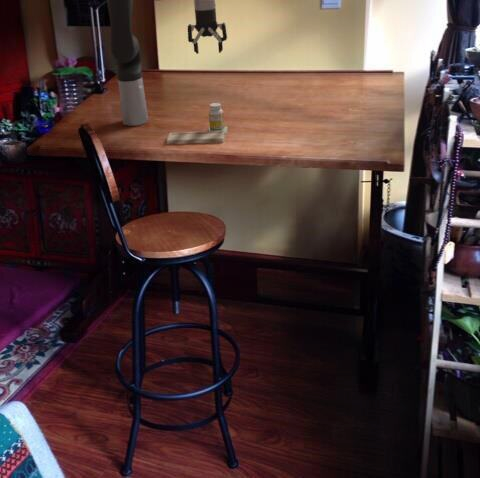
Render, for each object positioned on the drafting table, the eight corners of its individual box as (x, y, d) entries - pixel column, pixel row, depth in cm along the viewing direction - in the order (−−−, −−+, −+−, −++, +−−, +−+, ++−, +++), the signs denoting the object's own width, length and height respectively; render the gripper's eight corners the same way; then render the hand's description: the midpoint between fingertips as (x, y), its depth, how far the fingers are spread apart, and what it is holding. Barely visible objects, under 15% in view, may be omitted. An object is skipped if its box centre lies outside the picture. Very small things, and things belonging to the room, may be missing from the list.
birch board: (167, 144, 222) (166, 140, 221) (170, 137, 228) (169, 132, 227) (223, 142, 220) (222, 138, 219) (224, 135, 226) (224, 130, 225)
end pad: (207, 134, 227) (207, 133, 227) (209, 127, 233) (209, 127, 233) (226, 133, 227) (226, 133, 227) (227, 127, 233) (227, 126, 233)
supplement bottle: (217, 133, 227) (215, 108, 222) (206, 130, 230) (204, 105, 225) (227, 129, 230) (225, 103, 225) (216, 126, 233) (214, 101, 228)
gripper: (184, 10, 223) (188, 56, 231) (223, 8, 222) (227, 54, 230) (186, 6, 229) (191, 51, 237) (225, 4, 228) (228, 49, 236)
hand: (208, 52), depth 234 cm, fingers open, 8 cm apart
